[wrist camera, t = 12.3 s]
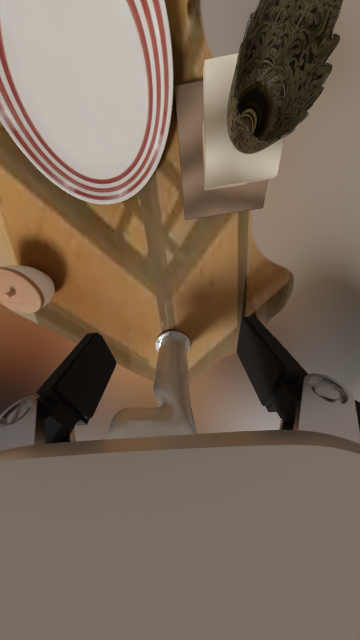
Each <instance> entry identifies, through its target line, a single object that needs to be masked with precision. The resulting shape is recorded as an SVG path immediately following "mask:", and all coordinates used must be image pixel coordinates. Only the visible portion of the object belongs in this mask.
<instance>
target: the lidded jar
mask: <svg viewBox="0 0 360 640" xmlns="http://www.w3.org/2000/svg"><path fill="white" fill-rule="evenodd" d="M54 294H55V287H54V283H53V281H52V279H51V278H50V277H49V276H48V275H46V274H45V273H43V272H41V271H39V270H37V269H35V268H32V267H28V266H20V265H13V266H5V267H0V303H1V304H3V305H5V306H6V307H8V308H10V309H12V310H15V311H18V312H22V313H33V312H36V311H38V310H40V309H41V308H42V307H44V306H45V305H47V304H48V303H49V302H50V301H51V300H52V299H53V297H54Z"/></svg>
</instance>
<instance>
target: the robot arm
mask: <svg viewBox="0 0 360 640" xmlns="http://www.w3.org/2000/svg"><path fill="white" fill-rule="evenodd" d="M155 347H156V349H157V351H158V359H157V365H156V371H155V377H154V384H153V393H154V397H155V399H156V401H157V402H158V404H159V406H160V407H155V408H138V407H137V408H136V407H132V408H124V409H121V410H119V411H118V412H117V413H116V414H115V415H114V417H113V419H112V421H111V423H110V426H109V429H108V432H107V436H106V440H93V441H78V442H76V440H75V433H74V427H75V425H76V424H77V425H87V423H88V421H89V419H90V418H91V417H92V416H93V414H94V412H95V410H96V408H97V405H98V404H99V401H100V399H101V397H102V395H103V392H104V390H105V388H106V386H107V384H108V382H109V379H110V377H111V375H112V373H113V371H114V369H115V366H116V360H115V359H114V357H113V355H112V353H111V351H110V350H109V348H108V346H107V344H106V343H105V341H104V339H103V337H102V336H101V335H99V334H98V333H89V334H87V335H86V336H85V337H84V338H83V339H82V340H81V341H80V343H79V344H78V345H77V346H76V347H75V348H74V350H73V351H72V352H71V353H70V354H69V355H68V357H67V358H66V359H65V360H64V361H63V362H62V363H61V364H60V365H59V367H58V368H57V369H56V370H55V371H54V372H53V374H52V375H51V376H50V377H49V378H48V379H47V380H46V381H45V383H44V384H43V385H42V386H41V387H40V388H39V390H38V391H37V392H36V393H37V394H39V395H40V397H39V398H38V399H37V398H35V397H27V398H24V399H22V400H20V401H18V402H16V403H15V404H13V405H12V406H10V407H9V408H8V409H7V410H6V411H4V412H3V413H2V414H1V416H0V640H360V402H358V401H356V400H354V398H353V395H352V394H351V393H350V391H349V390H348V389H347V388H346V387H345V386H344V385H342V384H341V383H340V382H338V381H337V380H335V379H333V378H331V377H328V376H325V375H322V374H316V373H313V374H307V372H306V371H305V370H304V369H303V368H302V367H301V366H300V365H299V363H298V362H297V361H296V360H295V359H294V358H293V357H292V356H291V355H290V353H289V352H288V351H287V350H286V349H285V348H284V347H283V346H282V345H281V344H280V342H279V341H278V340H277V339H276V338H275V337H274V336H273V335H272V334H271V333H270V332H269V331H268V330H267V329H266V328H265V326H264V325H263V324H262V323H261V322H260V321H259V320H258V319H257V318H256V317H255V316H249V317H245V318H244V319H242V320H241V325H240V332H239V339H238V345H237V354H238V356H239V358H240V360H241V362H242V364H243V366H244V369H245V370H246V373H247V375H248V377H249V379H250V381H251V383H252V385H253V387H254V389H255V391H256V394H257V395H258V398H259V400H260V402H261V404H262V405H263V406H266V408H267V410H268V411H269V412H277V413H278V415H279V416H280V418H281V423H280V428H279V430H266V431H240V432H222V433H205V434H197V431H196V426H195V421H194V417H193V413H192V407H191V401H190V392H189V378H188V364H187V352H188V351H189V349H190V340H189V338H188V337H187V336H186V335H185V334H184V333H182V332H179V331H166V332H164V333H162V334H160V335H159V336H158V337H157V339H156V343H155Z"/></svg>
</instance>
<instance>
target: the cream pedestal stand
mask: <svg viewBox="0 0 360 640" xmlns="http://www.w3.org/2000/svg"><path fill="white" fill-rule="evenodd" d="M237 57H238V53H236V54H231V55H227V56H222V57H217V58H212V59H207V60H205V63H204V69H203V80H202V81H197V82H192V83H187V84H182V85H177V86H175V103H176V115H177V127H178V140H179V152H180V164H181V177H182V189H183V201H184V214H185V220H187V219H194V218H200V217H207V216H214V215H221V214H228V213H234V212H241V211H248V210H255V209H260V208H263V205H264V199H265V193H266V187H267V181H268V179H272V178H274V177H276V176H277V173H278V168H279V162H280V157H281V151H282V146H283V141H284V137H283V138H281V139H280V140H278V141H277V142H275V143H274V144H272V145H270V146H269V147H267V148H265V149H263V150H261V151H259V152H256V153H253V154H244V153H241V152H240V151H238V150H237V149H236V148H235V147H234V146H233V144H232V142H231V140H230V137H229V134H228V129H227V106H228V100H229V94H230V89H231V84H232V80H233V76H234V71H235V67H236V63H237ZM242 120H243V122H244V123H245V124H246V125H247V127H248V129H249V131H251V120H250V119H249V118H248V117H245V118H243V119H242Z"/></svg>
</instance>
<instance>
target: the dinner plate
mask: <svg viewBox="0 0 360 640" xmlns="http://www.w3.org/2000/svg"><path fill="white" fill-rule="evenodd" d="M172 105H173V56H172V44H171V35H170V27H169V21H168V15H167V9H166V4H165V0H0V121H1V122H2V124H3V125H4V127H5V128H6V130H7V131H8V133H9V134H10V136H11V137H12V139H13V140H14V141H15V143H16V144H17V145H18V147H19V148H20V149H21V151H22V152H23V153H24V154H25V155H26V156H27V158H28V159H29V160H30V161H31V162H32V163H33V164H34V165H35V166H36V168H37V169H38V170H39V171H41V172H42V173H43V174H44V175H45V176H46V177H47V178H48V179H49V180H50V181H52V182H53V183H54V184H55V185H57V186H58V187H60V188H61V189H63V190H64V191H66V192H67V193H69V194H71V195H73V196H74V197H77V198H79V199H81V200H84V201H87V202H90V203H95V204H114V203H118V202H121V201H124V200H127V199H129V198H130V197H132V196H133V195H135V194H136V193H137V192H139V191H140V190H141V189H142V188H143V187H144V186H145V185H146V183H147V182H148V181H149V179H150V178H151V176H152V175H153V173H154V171H155V170H156V168H157V166H158V164H159V162H160V159H161V157H162V154H163V151H164V148H165V145H166V141H167V137H168V132H169V127H170V121H171V114H172Z"/></svg>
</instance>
